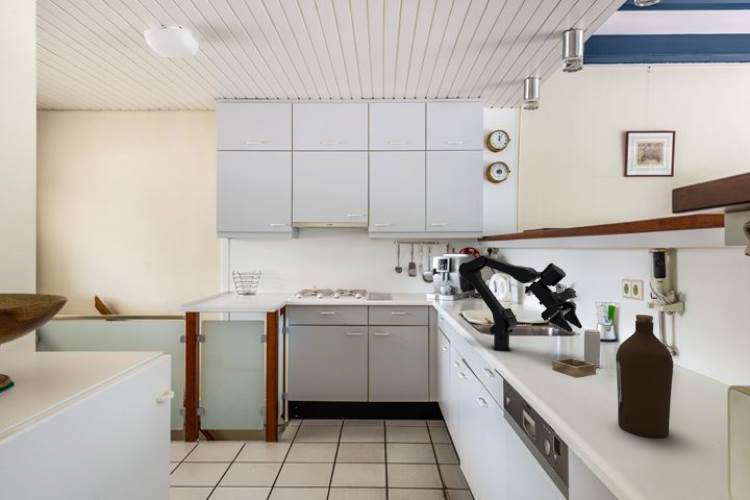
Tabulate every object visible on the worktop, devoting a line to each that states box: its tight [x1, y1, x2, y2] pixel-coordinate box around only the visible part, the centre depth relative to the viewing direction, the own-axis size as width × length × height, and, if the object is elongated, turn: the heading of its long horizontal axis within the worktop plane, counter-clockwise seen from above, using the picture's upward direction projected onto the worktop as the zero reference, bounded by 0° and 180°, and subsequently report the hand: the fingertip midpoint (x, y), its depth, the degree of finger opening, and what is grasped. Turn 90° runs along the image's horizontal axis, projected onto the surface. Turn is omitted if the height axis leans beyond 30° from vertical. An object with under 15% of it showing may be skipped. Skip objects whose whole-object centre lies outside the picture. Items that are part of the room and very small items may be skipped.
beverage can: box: [583, 329, 601, 369], centre depth 142 cm, size 5×5×12 cm
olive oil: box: [615, 314, 674, 439], centre depth 93 cm, size 11×11×25 cm
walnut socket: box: [551, 357, 597, 378], centre depth 136 cm, size 9×9×3 cm
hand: (576, 329), depth 146 cm, fingers open, 9 cm apart
